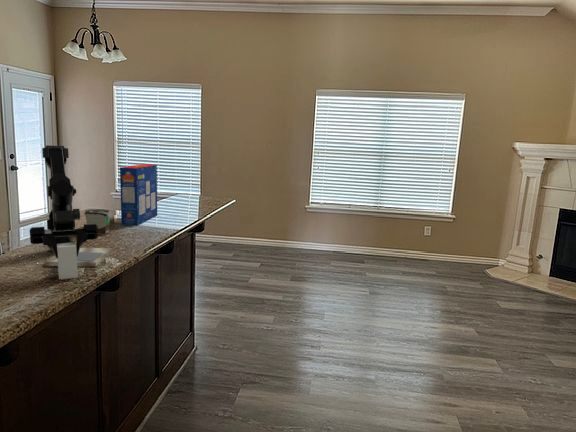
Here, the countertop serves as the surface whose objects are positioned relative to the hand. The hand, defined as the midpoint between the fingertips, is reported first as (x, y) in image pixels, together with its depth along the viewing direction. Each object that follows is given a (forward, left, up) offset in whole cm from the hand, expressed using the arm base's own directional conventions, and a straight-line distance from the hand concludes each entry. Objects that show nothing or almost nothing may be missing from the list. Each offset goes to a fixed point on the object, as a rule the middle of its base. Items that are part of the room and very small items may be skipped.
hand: (67, 256), depth 128 cm
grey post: (-1, +1, -7) cm, 7 cm away
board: (-4, +20, -7) cm, 22 cm away
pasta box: (0, +91, -7) cm, 92 cm away
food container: (-10, +61, -7) cm, 62 cm away
